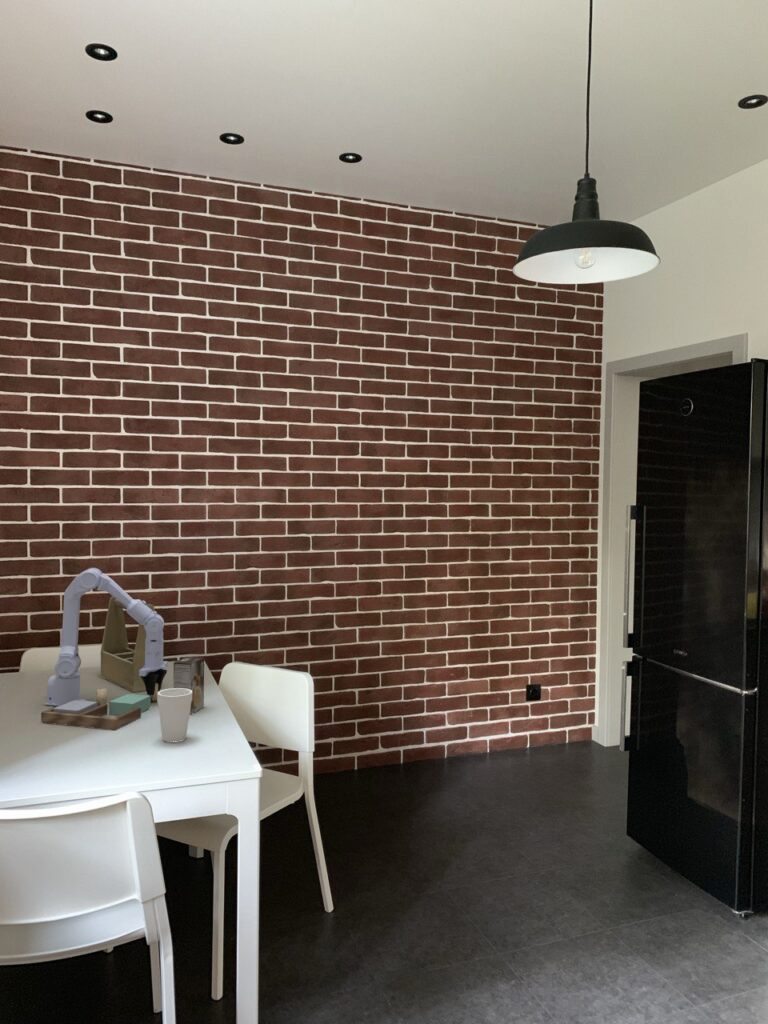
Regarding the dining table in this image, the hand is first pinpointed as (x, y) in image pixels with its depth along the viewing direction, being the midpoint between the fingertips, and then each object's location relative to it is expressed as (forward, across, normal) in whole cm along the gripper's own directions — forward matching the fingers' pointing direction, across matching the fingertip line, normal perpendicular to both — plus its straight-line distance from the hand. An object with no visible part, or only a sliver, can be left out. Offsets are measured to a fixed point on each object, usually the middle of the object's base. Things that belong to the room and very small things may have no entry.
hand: (153, 693), depth 247 cm
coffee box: (+3, -7, -16) cm, 18 cm away
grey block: (+3, -19, +12) cm, 23 cm away
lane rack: (+2, -24, +6) cm, 25 cm away
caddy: (+3, +19, +21) cm, 29 cm away
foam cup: (+3, -34, -26) cm, 43 cm away
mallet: (+2, -9, 0) cm, 9 cm away
